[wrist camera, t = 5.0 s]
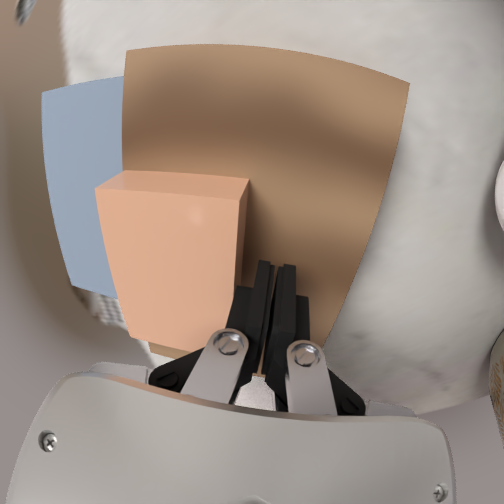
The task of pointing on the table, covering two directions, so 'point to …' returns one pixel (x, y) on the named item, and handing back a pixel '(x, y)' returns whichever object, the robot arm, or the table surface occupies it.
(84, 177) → the mat
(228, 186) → the tile
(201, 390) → the robot arm
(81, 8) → the table surface
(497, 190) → the headphones
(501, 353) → the vase
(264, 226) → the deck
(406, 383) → the table surface
